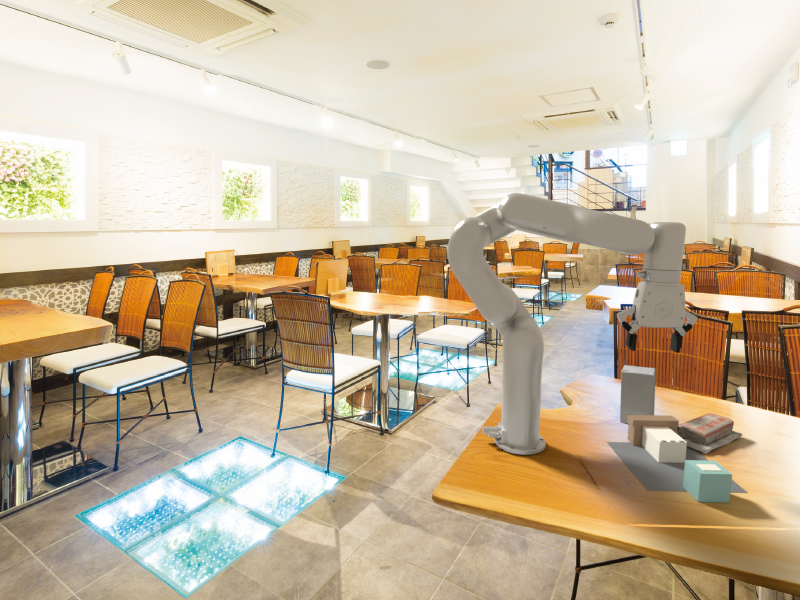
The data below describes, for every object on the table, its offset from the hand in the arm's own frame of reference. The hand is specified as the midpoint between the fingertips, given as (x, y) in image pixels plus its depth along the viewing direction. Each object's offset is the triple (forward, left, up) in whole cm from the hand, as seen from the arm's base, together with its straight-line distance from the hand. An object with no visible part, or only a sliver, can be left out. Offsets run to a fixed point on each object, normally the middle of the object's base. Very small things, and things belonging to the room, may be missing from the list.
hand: (652, 350), depth 107 cm
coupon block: (+4, +2, -26) cm, 26 cm away
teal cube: (+4, -17, -26) cm, 31 cm away
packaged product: (+19, +9, -26) cm, 33 cm away
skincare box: (+6, +19, -26) cm, 33 cm away
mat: (+3, -5, -26) cm, 27 cm away
